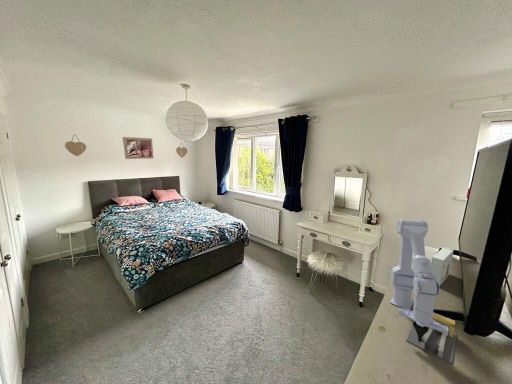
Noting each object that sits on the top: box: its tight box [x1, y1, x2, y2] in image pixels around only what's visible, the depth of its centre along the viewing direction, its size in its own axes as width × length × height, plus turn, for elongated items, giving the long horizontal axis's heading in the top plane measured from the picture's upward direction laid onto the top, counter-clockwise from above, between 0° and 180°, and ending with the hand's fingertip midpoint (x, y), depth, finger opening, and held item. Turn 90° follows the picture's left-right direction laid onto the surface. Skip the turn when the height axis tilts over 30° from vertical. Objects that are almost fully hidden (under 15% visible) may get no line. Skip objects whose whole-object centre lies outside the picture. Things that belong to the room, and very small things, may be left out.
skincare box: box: [430, 247, 454, 287], centre depth 121 cm, size 21×6×16 cm, turn 126°
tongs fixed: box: [434, 324, 449, 359], centre depth 80 cm, size 16×3×2 cm, turn 133°
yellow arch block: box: [433, 312, 456, 338], centre depth 85 cm, size 3×9×6 cm, turn 43°
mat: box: [406, 325, 458, 365], centre depth 83 cm, size 18×13×1 cm
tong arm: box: [420, 328, 434, 351], centre depth 81 cm, size 12×2×2 cm, turn 127°
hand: (420, 340), depth 80 cm, fingers closed
